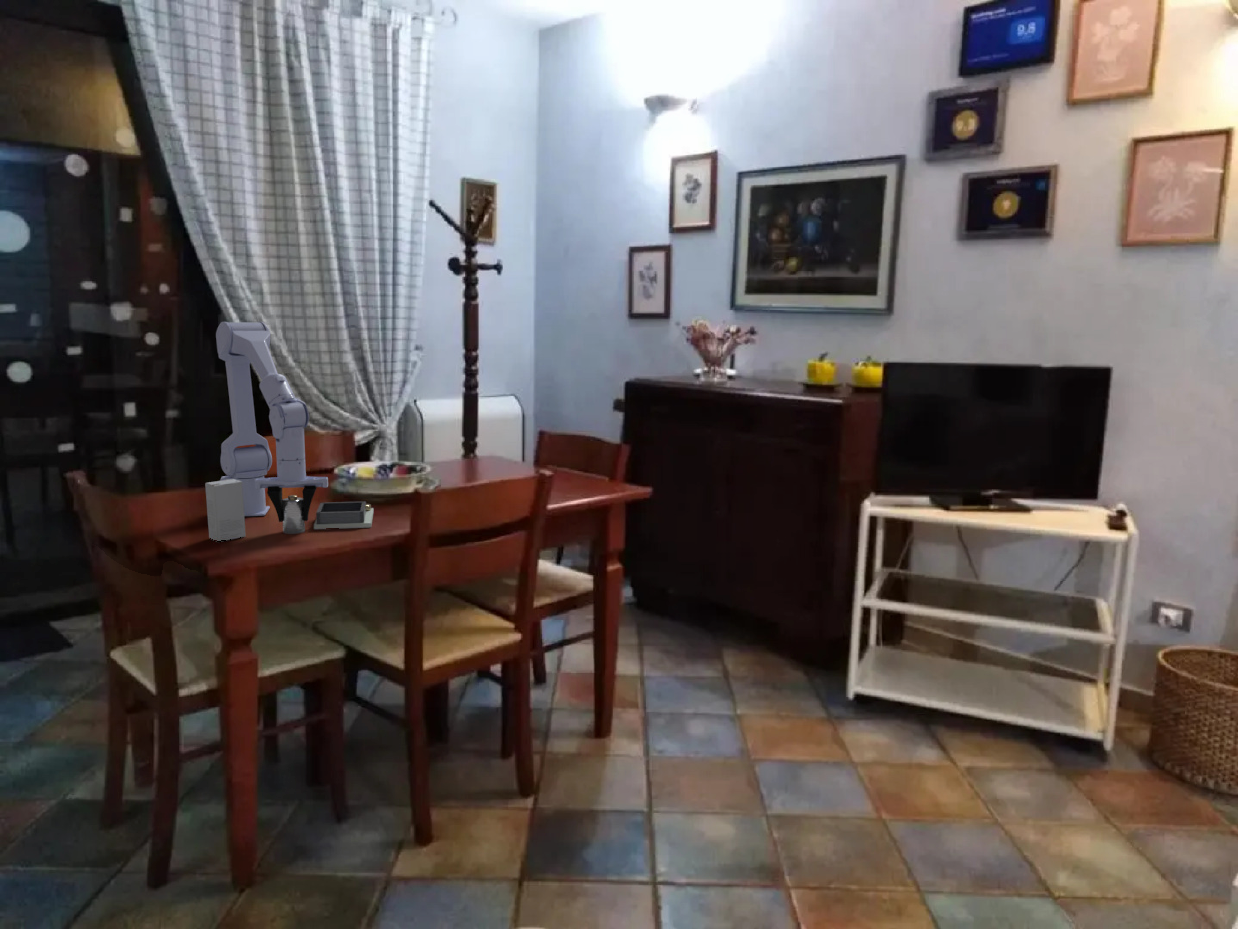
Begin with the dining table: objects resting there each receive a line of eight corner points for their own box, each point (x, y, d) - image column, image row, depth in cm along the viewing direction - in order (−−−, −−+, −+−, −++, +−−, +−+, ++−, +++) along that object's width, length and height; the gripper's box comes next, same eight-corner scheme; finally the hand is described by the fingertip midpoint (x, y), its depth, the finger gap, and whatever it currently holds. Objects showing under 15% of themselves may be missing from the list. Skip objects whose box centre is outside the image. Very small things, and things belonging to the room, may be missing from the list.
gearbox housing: (314, 529, 189) (313, 513, 188) (320, 513, 202) (319, 499, 201) (371, 527, 191) (370, 512, 191) (373, 512, 205) (373, 497, 204)
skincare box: (236, 533, 184) (233, 477, 181) (246, 537, 181) (243, 481, 179) (207, 538, 179) (203, 481, 177) (217, 543, 176) (214, 485, 174)
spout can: (281, 534, 184) (280, 498, 183) (285, 527, 190) (284, 492, 188) (303, 533, 185) (302, 498, 184) (306, 526, 191) (305, 491, 189)
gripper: (251, 462, 178) (254, 526, 181) (325, 461, 182) (327, 523, 184) (256, 456, 185) (260, 517, 187) (327, 455, 188) (330, 515, 191)
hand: (293, 520), depth 186 cm, fingers closed on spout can, 4 cm apart
